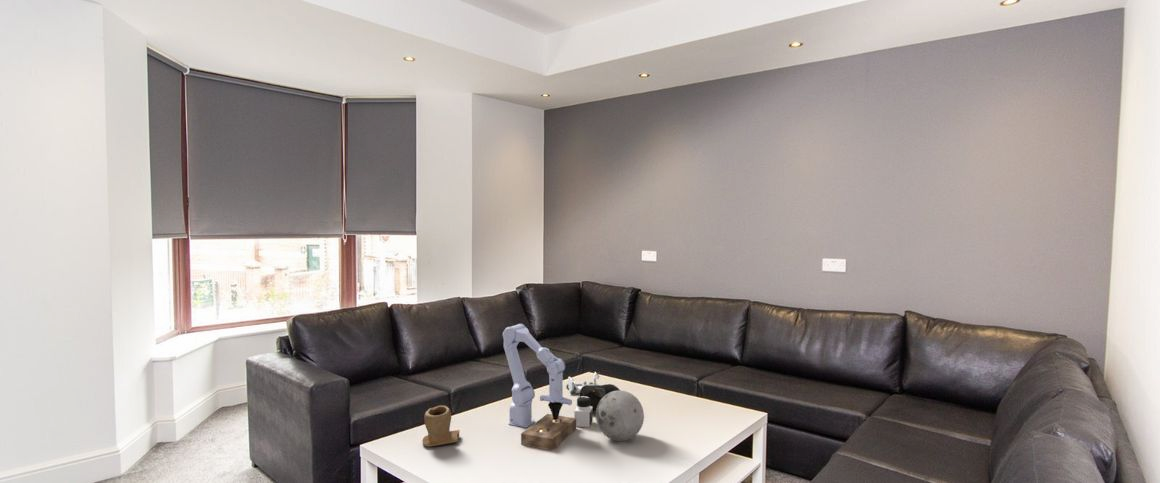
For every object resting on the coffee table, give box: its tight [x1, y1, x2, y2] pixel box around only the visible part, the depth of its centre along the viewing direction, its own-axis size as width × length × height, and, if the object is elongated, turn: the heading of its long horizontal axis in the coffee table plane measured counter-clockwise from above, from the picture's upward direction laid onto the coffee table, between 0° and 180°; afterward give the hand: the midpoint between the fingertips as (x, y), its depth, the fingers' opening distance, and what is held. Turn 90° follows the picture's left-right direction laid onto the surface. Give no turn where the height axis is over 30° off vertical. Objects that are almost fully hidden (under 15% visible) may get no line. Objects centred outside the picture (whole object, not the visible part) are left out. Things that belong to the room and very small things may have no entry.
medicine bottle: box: [573, 396, 594, 428], centre depth 235 cm, size 7×7×12 cm
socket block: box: [520, 413, 577, 451], centre depth 222 cm, size 14×24×4 cm, turn 157°
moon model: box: [595, 389, 645, 442], centre depth 219 cm, size 20×20×20 cm
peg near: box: [539, 429, 548, 434], centre depth 216 cm, size 4×4×4 cm
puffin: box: [579, 383, 620, 413], centre depth 255 cm, size 20×21×13 cm
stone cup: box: [421, 405, 461, 447], centre depth 214 cm, size 15×12×15 cm
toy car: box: [565, 371, 601, 396], centre depth 282 cm, size 18×10×12 cm
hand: (555, 419), depth 227 cm, fingers closed
